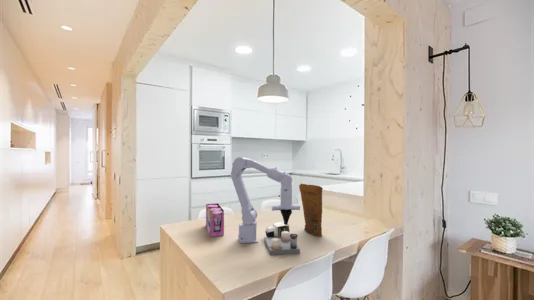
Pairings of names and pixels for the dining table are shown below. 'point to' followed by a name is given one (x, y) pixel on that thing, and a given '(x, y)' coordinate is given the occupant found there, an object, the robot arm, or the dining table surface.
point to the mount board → (281, 250)
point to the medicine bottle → (277, 229)
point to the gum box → (215, 220)
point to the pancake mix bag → (312, 208)
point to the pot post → (293, 241)
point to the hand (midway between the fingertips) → (285, 224)
